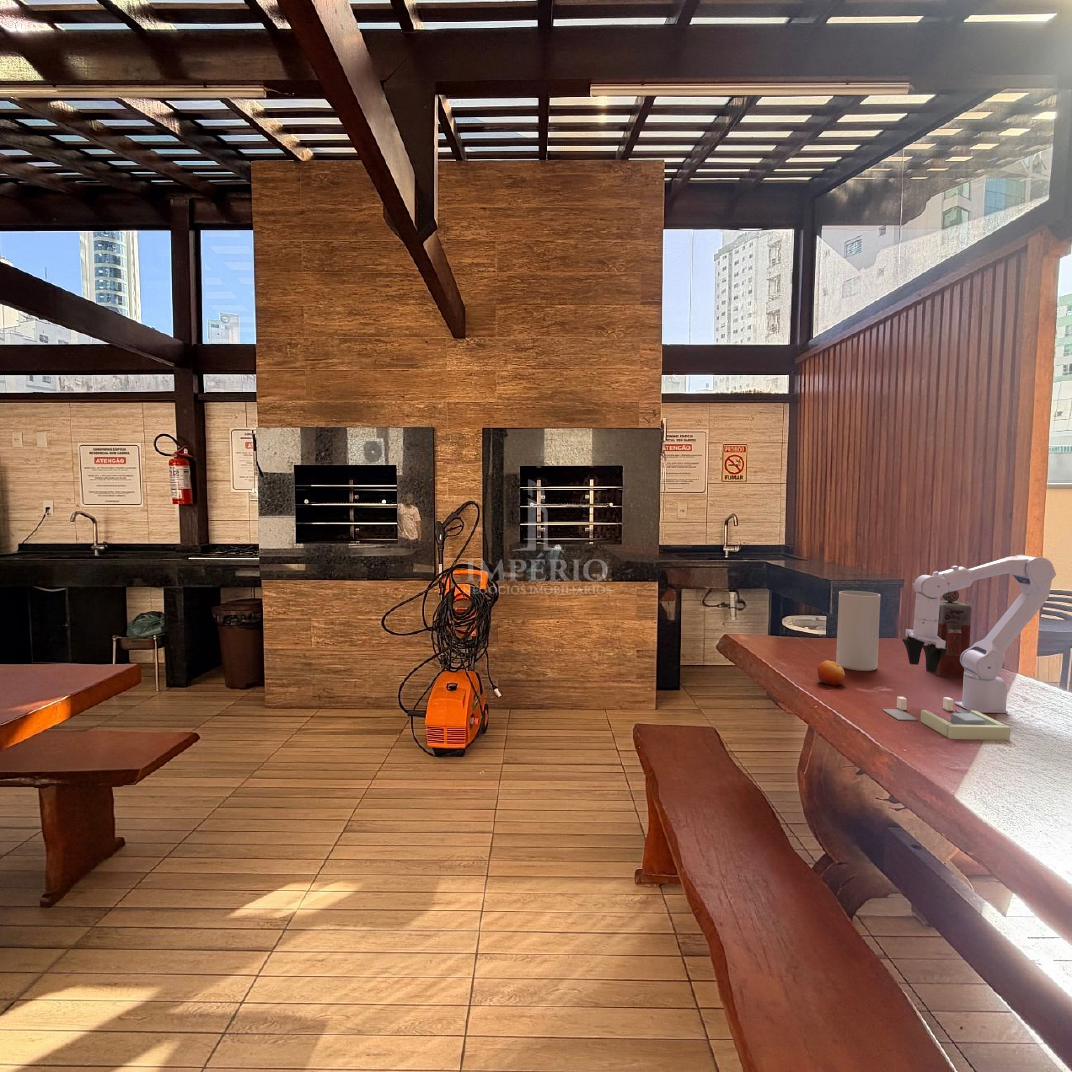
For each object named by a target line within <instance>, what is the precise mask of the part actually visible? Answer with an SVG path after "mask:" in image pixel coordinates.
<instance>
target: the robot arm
mask: <svg viewBox="0 0 1072 1072" xmlns="http://www.w3.org/2000/svg"><path fill="white" fill-rule="evenodd" d="M1005 574H1006V575H1007V574H1008V575H1012V577H1013V578H1014V580H1015V581H1016V582H1017V583H1018V587H1019V589H1020V593H1019V595H1018V597H1017V598H1016V599H1015V600H1014V602H1012V604H1011V605H1010V607H1009V608H1008V609H1007V610H1006V611H1005V613H1004V614H1003V615H1002V616H1001V618H1000V619H999V620H998V621H997V622H996V623H995V624H994V626H993V627H992V629H991V630H990V631H989V633H987V635H986V636H985V637H984V638H983V639H981V640H979V641H976V642H974V643H973V645H972V646H970V648H969V649H967V650H965V651H964V652H963V653H962V654H961V656H960V663H961V665H962V666H963V667H964V677H962V678H963V679H962V680H963V681H962V682H963V683H962V699H961V701H954V704H955V705H957V706H959V707H961V708H962V709H964V710H970V711H978V712H980V713H982V714H987V713H990V714H991V713H993V714H996V713H997V714H1008V712H1009V711H1008V710H1007V698H1008V697H1007V693H1008V688H1007V684H1006V682H1005V680H1004V679H1003V678H1002V677H1000V676H999V675H1000V674H1001V671H1002V669H1003V668H1002V667H1003V665H1004V663H1005V662H1006V661H1007V655H1006V650H1008V648H1009V647H1010V646H1011V644H1012V643H1013V642H1014V641H1015V640H1016V638H1017V637H1018V636H1019V634H1020V633H1021V632H1022V631H1023V630H1024V628H1026V626H1027V625H1028V623H1029V622H1030V621H1031V620H1032V619H1033V617H1034V616H1035V615H1036V614H1037V612H1038V611H1039V610H1040V609H1041V608H1042V607H1043V606H1044V604H1045V603H1046V602H1047V600H1048V599H1049V597H1050V592H1051V587H1052V583H1053V582H1052V581H1053V579H1055V577H1056V576H1057V573H1056V570H1055V567H1054V564H1053V563H1052V561H1051V560H1049V559H1048V558H1045V557H1041V556H1040V557H1038V556H1037V557H1036V556H1030V555H1027V554H1017V555H1015V556H1014V555H1013V556H1012V555H1011V556H1006V557H1004V558H1000V559H998V560H994V561H991V562H987V563H984V564H981V565H978V566H974V567H972V568H966V567H964V566H958V565H952V566H951V567H950V569H946V570H943V571H939V572H938V571H933V572H932V575H930V574H929V575H928V574H922V575H920V576H918V577H917V578H916V579H915V581H914V583H912V588H913V590H914V592H915V593H916V594H915V601H914V602H915V603H914V614H913V615H914V616H913V629H907V628H906V629H905V637H902V638H901V639H902V642H903V643H904V646H905V649H906V652H907V657H908V662H909V663H908V664H910V665H919V663H920V659H921V654H922V651H923V652H924V656H925V671H926V672H927V673H932V672H936V669H937V667H938V664H939V662H940V660H941V658H942V657H943V655H944V654H945V653H946V652H947V648H945V643H946V641H944V640H942V639H941V638H939V637H938V636H937V632H938V620H939V608H940V601H941V597H942V595H943V594H944V593H947V592H951V591H955V590H957V591H958V590H961V589H966V588H969V587H971V586H972V585H973V583H974V581H978V580H983V579H988V578H991V577H997V576H1000V575H1001V576H1002V575H1005ZM925 643H926V645H925ZM927 643H928V644H930V646H929V645H927Z"/></svg>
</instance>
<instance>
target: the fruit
mask: <svg viewBox="0 0 1072 1072" xmlns="http://www.w3.org/2000/svg"><path fill="white" fill-rule="evenodd" d="M816 669H817V670H816V671H817V677H818V681H817V684H818V683H824V684H826V685H830V686H833V687H836V686H839V685H840V684H842V683H843V682H844V681H845V679H846V673H845V670H844V669H845V668H843V667H841V666H840V665H839V664H837V663H836V661H831V660H827V659H825V660H824V661H822V662H820V663H819V665H818V667H817V668H816Z"/></svg>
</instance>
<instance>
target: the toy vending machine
mask: <svg viewBox="0 0 1072 1072" xmlns="http://www.w3.org/2000/svg"><path fill="white" fill-rule="evenodd" d="M941 597H942V599H943V600H940V608H939V620H938V632H937V636H938V637H939V638H941V639H942V640H944V641H946V643H945V648H947V652H946V653H945V654H944V655H943V657H942V658H941V660H940V662H939V664H938V667H937V669H936V672H931V673H932V674H934V675H936V676H937V677H944V678H945V677H949V678H950V677H951V678H963V677H964V667H963V666H962V665H961V663H960V656H961V654H962V653H963V652H964V651H965V650H967V649H969V648H971V646H970V644H971V627H972V624H971V623H972V606H971V605H969V604H967V603H965V602H960V601H958V599H959V598H960V593H959V591H958V590H955V591H951V592H947V593H944V594H943V595H942V596H941ZM926 645H929V646H930V644H928V643H926Z"/></svg>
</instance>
